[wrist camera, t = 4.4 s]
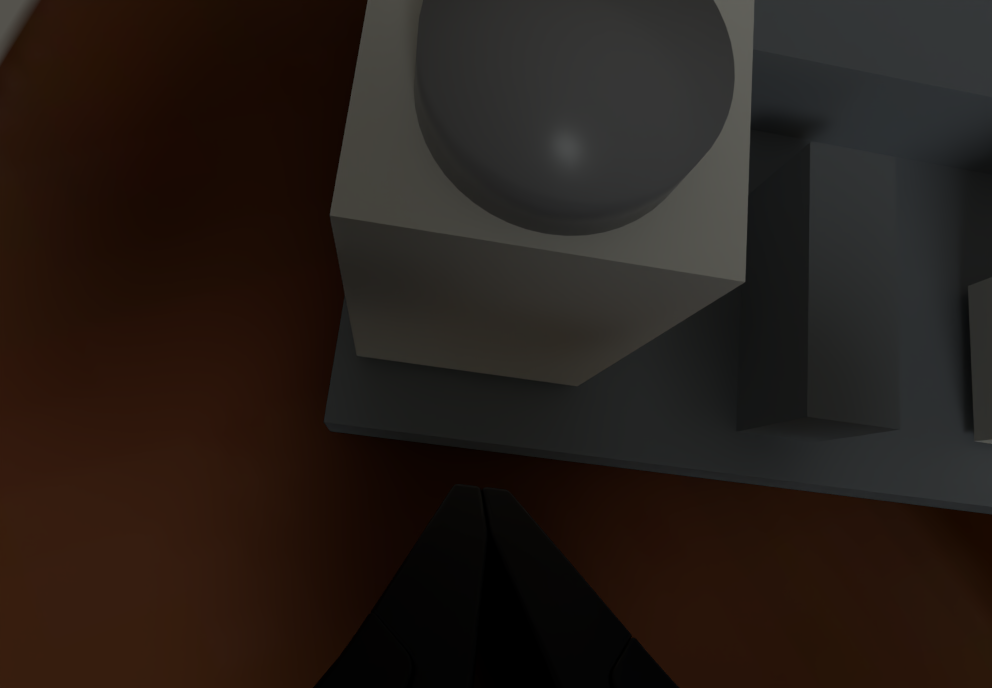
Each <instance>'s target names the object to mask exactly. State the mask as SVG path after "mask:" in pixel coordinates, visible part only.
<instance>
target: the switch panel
mask: <svg viewBox="0 0 992 688" xmlns="http://www.w3.org/2000/svg"><path fill="white" fill-rule="evenodd" d="M991 277H992V0H755V1H754V31H753V62H752V92H751V123H750V153H749V184H748V214H747V245H746V276H745V282H744V283H743V284H741V285H740V286H738V287H736V288H735V289H733V290H732V291H730V292H728V293H727V294H725V295H724V296H722V297H720V298H719V299H717V300H715V301H714V302H712V303H711V304H709V305H707V306H706V307H704V308H703V309H701V310H699V311H698V312H696V313H695V314H693V315H691V316H690V317H688V318H686V319H685V320H683V321H682V322H680V323H678V324H677V325H675V326H674V327H672V328H670V329H669V330H667V331H666V332H664V333H662V334H661V335H659V336H658V337H656V338H654V339H653V340H651V341H649V342H648V343H646V344H645V345H643V346H641V347H640V348H638V349H637V350H635V351H633V352H632V353H630V354H629V355H627V356H625V357H624V358H622V359H620V360H619V361H617V362H616V363H614V364H612V365H611V366H609V367H608V368H606V369H604V370H603V371H601V372H600V373H598V374H596V375H595V376H593V377H592V378H590V379H588V380H587V381H585V382H583V383H582V384H580V385H579V386H571V385H564V384H557V383H550V382H542V381H535V380H528V379H521V378H513V377H506V376H499V375H492V374H484V373H477V372H470V371H463V370H455V369H448V368H441V367H434V366H427V365H419V364H412V363H405V362H398V361H390V360H383V359H376V358H369V357H361V356H357V355H356V350H355V344H354V339H353V334H352V329H351V324H350V318H349V313H348V308H347V303H346V298H345V297H344V303H343V309H342V315H341V321H340V327H339V333H338V339H337V345H336V351H335V357H334V363H333V369H332V375H331V381H330V387H329V393H328V399H327V405H326V411H325V417H324V423H325V425H326V426H327V427H328V429H329V430H330V431H333V432H340V433H348V434H356V435H364V436H372V437H380V438H388V439H396V440H404V441H412V442H420V443H428V444H436V445H444V446H452V447H460V448H468V449H476V450H484V451H492V452H500V453H508V454H516V455H524V456H532V457H540V458H548V459H556V460H564V461H572V462H580V463H588V464H596V465H604V466H612V467H620V468H628V469H635V470H643V471H651V472H659V473H667V474H675V475H683V476H691V477H699V478H707V479H715V480H723V481H731V482H739V483H747V484H755V485H763V486H771V487H779V488H787V489H795V490H803V491H811V492H819V493H827V494H835V495H843V496H851V497H859V498H867V499H875V500H883V501H891V502H899V503H907V504H915V505H922V506H930V507H938V508H946V509H954V510H962V511H970V512H978V513H986V514H992V444H990V443H983V442H976V441H974V417H973V394H972V370H971V347H970V323H969V299H968V286H969V285H972V284H975V283H977V282H980V281H983V280H985V279H988V278H991Z"/></svg>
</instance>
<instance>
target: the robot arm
mask: <svg viewBox="0 0 992 688" xmlns="http://www.w3.org/2000/svg"><path fill="white" fill-rule="evenodd" d="M631 637H632V636H631V634H630V633H629V631H628V630H627V629H626V628H625V627H624V626H623V624H622V623H621V622H620V621H619V620H618V618H617V617H616V616H615V615H614V614H613V613H612V611H611V610H610V609H609V608H608V607H607V605H606V604H605V603H604V602H603V601H602V600H601V598H600V597H599V596H598V595H597V594H596V593H595V591H594V590H593V589H592V588H591V587H590V585H589V584H588V583H587V582H586V581H585V580H584V578H583V577H582V576H581V575H580V574H579V573H578V571H577V570H576V569H575V568H574V567H573V565H572V564H571V563H570V562H569V561H568V560H567V558H566V557H565V556H564V555H563V554H562V553H561V551H560V550H559V549H558V548H557V547H556V545H555V544H554V543H553V542H552V541H551V540H550V538H549V537H548V536H547V535H546V534H545V533H544V531H543V530H542V529H541V528H540V527H539V525H538V524H537V523H536V522H535V521H534V520H533V518H532V517H531V516H530V515H529V514H528V512H527V511H526V510H525V509H524V508H523V507H522V505H521V504H520V503H519V502H518V501H517V500H516V498H515V497H514V496H513V495H512V494H511V493H510V492H509V491H508V490H505V489H496V488H488V487H486V488H483V489H482V491H481V489H480V488H479V487H477V486H471V485H462V484H456V485H454V486H453V487H452V489H451V490H450V492H449V493H448V495H447V496H446V498H445V499H444V501H443V502H442V504H441V505H440V507H439V509H438V510H437V512H436V513H435V515H434V516H433V518H432V519H431V521H430V522H429V524H428V525H427V527H426V528H425V530H424V531H423V533H422V534H421V536H420V538H419V539H418V541H417V542H416V544H415V545H414V547H413V548H412V550H411V551H410V553H409V554H408V556H407V557H406V559H405V560H404V562H403V563H402V565H401V567H400V568H399V570H398V571H397V573H396V574H395V576H394V577H393V579H392V580H391V582H390V583H389V585H388V586H387V588H386V589H385V591H384V592H383V594H382V596H381V597H380V599H379V600H378V602H377V603H376V605H375V606H374V608H373V609H372V611H371V613H370V614H368V616H367V617H366V619H365V620H364V622H363V623H362V625H361V626H360V628H359V629H358V631H357V632H356V634H355V635H354V637H353V638H352V639H351V641H350V642H349V644H348V645H347V646H346V648H345V649H344V650H343V652H342V653H341V655H340V656H339V657H338V659H337V660H336V661H335V662H334V663H333V665H332V666H331V667H330V668H329V669H328V671H327V672H326V673H325V674H324V675H323V676H322V678H321V679H320V680H319V681H318V682H317V684H316V685H315V686H314V687H313V688H473V687H474V688H679V687H678V686H677V685H676V684H675V683H674V682H673V681H672V679H671V678H670V677H669V676H668V675H667V674H666V673H665V672H664V670H663V669H662V668H661V667H660V666H659V665H658V664H657V663H656V662H655V660H654V659H653V658H652V657H651V656H650V655H649V654H648V652H647V651H646V650H645V649H644V648H643V647H642V645H641V644H640V643H639V642H638V641H637V640H636V639H635V638H631Z"/></svg>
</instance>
